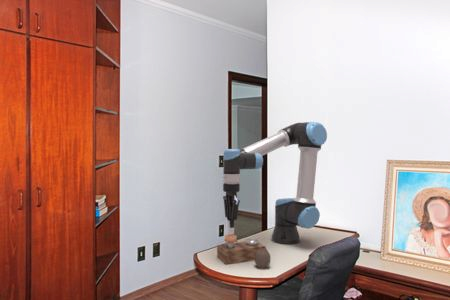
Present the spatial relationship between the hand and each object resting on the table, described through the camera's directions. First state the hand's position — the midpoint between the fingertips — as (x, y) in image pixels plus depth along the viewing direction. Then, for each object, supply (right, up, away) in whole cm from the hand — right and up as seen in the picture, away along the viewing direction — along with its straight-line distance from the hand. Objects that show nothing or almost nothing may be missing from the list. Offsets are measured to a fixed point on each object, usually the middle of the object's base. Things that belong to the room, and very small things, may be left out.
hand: (230, 234), depth 167 cm
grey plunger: (+10, -11, +5) cm, 15 cm away
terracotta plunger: (0, -8, 0) cm, 8 cm away
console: (+5, -12, +3) cm, 13 cm away
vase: (+14, -13, -8) cm, 20 cm away
